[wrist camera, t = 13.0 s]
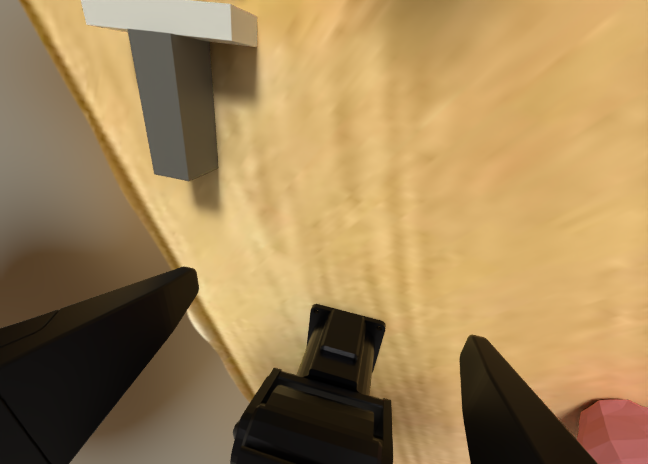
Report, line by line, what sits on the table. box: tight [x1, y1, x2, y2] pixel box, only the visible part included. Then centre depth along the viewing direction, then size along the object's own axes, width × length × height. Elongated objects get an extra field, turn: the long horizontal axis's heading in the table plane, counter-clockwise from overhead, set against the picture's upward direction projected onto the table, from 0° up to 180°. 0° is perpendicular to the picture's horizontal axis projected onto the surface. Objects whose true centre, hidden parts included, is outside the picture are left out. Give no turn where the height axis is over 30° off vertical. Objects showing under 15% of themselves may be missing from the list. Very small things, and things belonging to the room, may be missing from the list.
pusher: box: [81, 0, 257, 181], centre depth 18 cm, size 10×9×4 cm
